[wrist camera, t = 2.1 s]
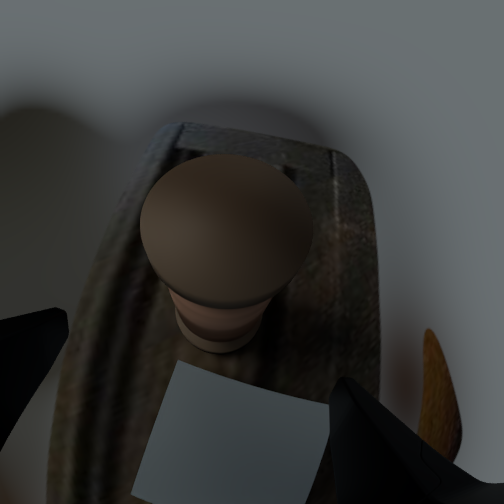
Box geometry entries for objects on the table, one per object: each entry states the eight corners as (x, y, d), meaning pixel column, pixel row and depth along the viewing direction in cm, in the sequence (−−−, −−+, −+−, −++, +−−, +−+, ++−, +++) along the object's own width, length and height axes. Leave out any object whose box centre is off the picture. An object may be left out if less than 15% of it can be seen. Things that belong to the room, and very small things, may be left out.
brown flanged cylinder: (246, 365, 19) (291, 326, 8) (164, 335, 19) (109, 260, 8) (270, 289, 22) (324, 182, 11) (195, 263, 22) (185, 140, 11)
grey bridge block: (277, 513, 14) (291, 535, 10) (145, 477, 14) (130, 494, 10) (314, 405, 18) (337, 406, 14) (184, 366, 18) (178, 360, 15)
